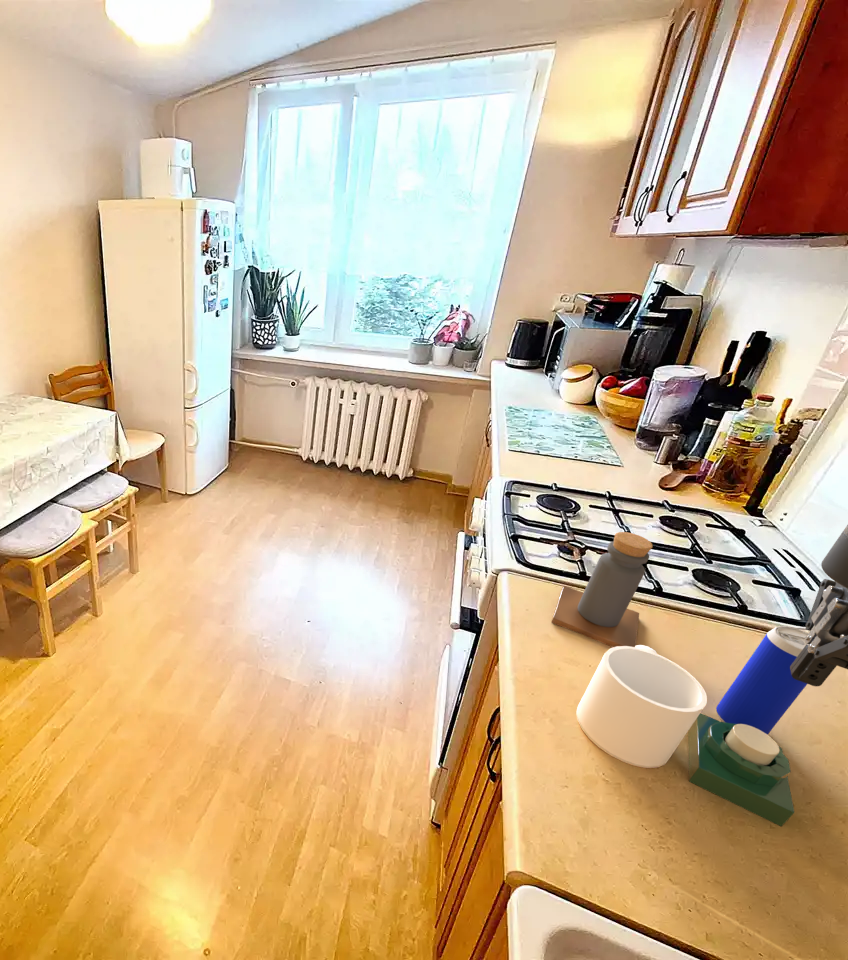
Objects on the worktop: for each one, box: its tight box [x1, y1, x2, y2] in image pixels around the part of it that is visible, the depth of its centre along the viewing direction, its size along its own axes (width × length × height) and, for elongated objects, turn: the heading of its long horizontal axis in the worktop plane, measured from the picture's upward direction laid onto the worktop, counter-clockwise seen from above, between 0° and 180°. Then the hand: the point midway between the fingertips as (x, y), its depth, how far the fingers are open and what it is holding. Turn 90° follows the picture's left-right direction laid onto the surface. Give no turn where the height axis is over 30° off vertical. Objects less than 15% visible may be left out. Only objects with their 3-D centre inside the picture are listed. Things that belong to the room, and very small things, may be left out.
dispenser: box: [687, 712, 795, 827], centre depth 62 cm, size 10×8×4 cm
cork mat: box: [551, 585, 640, 648], centre depth 86 cm, size 11×11×1 cm
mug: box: [575, 644, 708, 769], centre depth 66 cm, size 13×10×10 cm
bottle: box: [578, 531, 654, 627], centre depth 83 cm, size 6×6×15 cm
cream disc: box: [725, 724, 780, 766], centre depth 61 cm, size 4×4×2 cm
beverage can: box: [715, 625, 809, 736], centre depth 66 cm, size 5×5×15 cm
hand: (803, 678), depth 56 cm, fingers closed
